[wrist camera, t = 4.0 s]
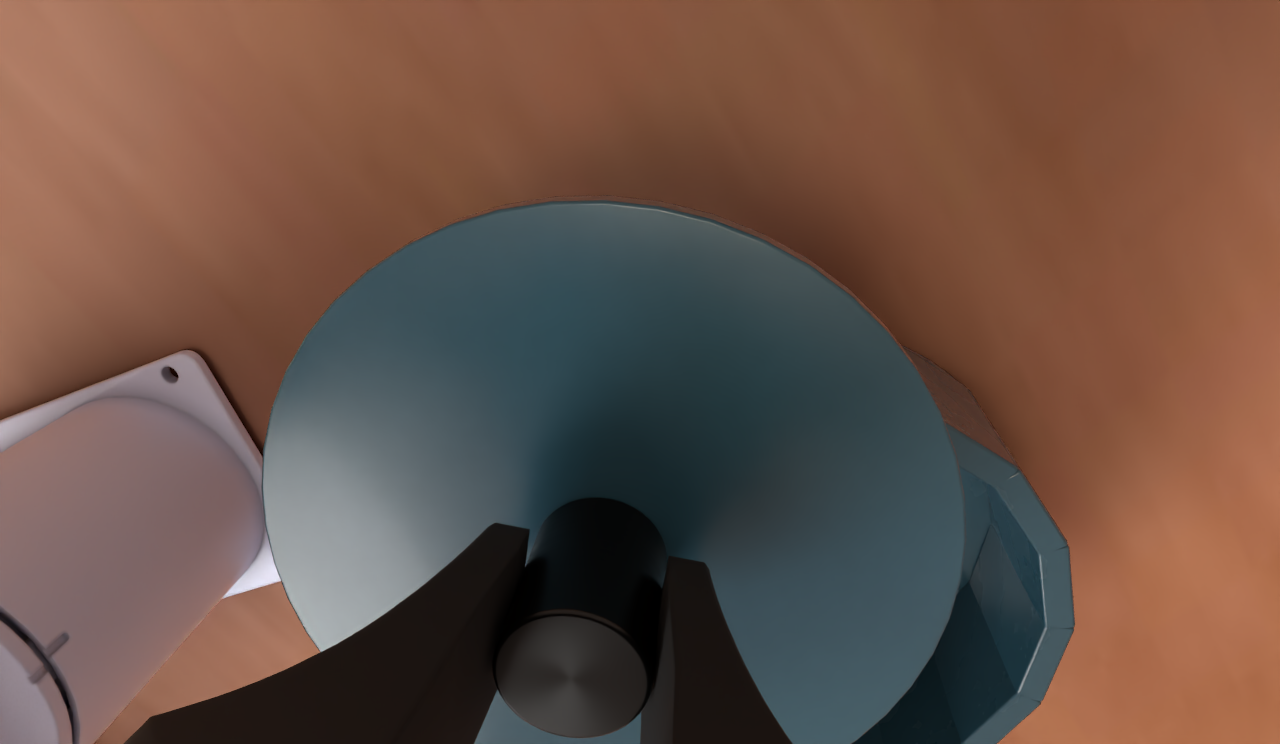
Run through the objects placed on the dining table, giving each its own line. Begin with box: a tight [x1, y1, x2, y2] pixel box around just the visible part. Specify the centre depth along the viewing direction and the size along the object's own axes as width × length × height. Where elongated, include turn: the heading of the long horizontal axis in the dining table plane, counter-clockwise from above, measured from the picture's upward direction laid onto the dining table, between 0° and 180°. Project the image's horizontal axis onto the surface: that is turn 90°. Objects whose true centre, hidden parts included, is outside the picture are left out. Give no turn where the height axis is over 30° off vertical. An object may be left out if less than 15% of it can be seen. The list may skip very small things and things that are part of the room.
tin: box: [852, 345, 1075, 744], centre depth 23 cm, size 12×12×5 cm
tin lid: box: [261, 195, 966, 744], centre depth 14 cm, size 13×13×4 cm
